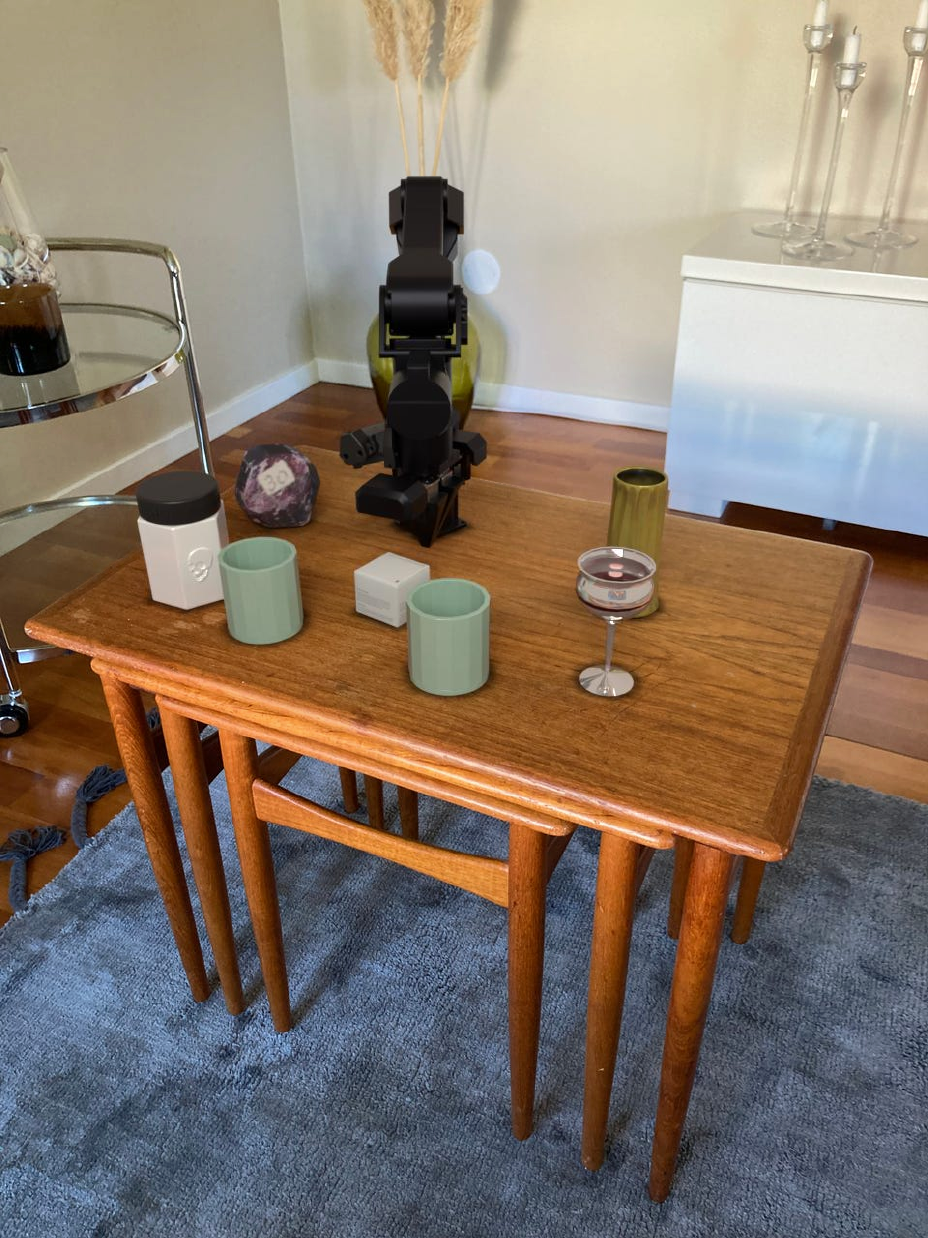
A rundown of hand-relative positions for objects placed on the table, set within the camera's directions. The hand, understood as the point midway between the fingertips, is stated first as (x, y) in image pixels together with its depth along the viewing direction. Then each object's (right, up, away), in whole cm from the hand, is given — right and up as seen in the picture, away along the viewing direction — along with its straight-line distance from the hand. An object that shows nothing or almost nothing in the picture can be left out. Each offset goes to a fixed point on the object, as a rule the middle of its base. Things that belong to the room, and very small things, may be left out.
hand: (426, 545), depth 103 cm
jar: (-25, -5, 0) cm, 25 cm away
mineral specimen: (-18, +4, +14) cm, 24 cm away
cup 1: (-16, -8, -7) cm, 19 cm away
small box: (-3, -7, -4) cm, 9 cm away
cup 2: (+3, -13, -14) cm, 19 cm away
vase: (+21, -6, -3) cm, 22 cm away
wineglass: (+17, -14, -15) cm, 26 cm away
